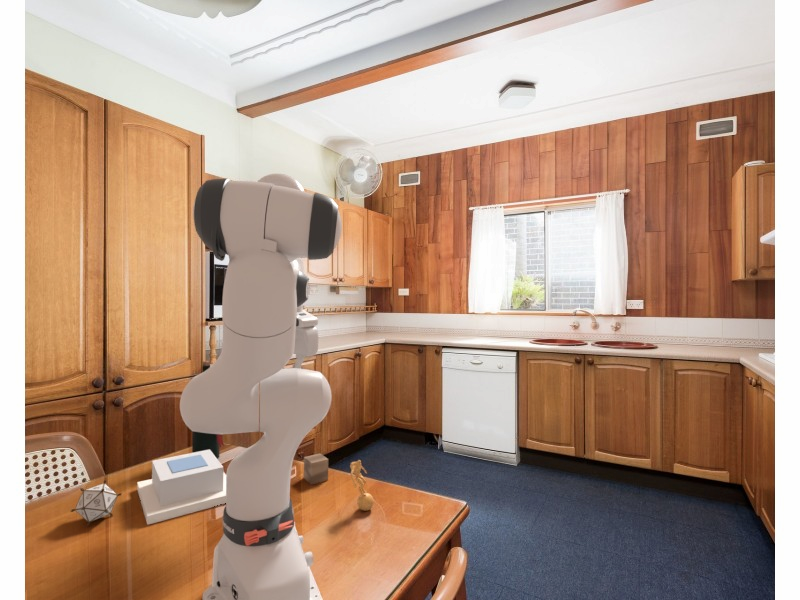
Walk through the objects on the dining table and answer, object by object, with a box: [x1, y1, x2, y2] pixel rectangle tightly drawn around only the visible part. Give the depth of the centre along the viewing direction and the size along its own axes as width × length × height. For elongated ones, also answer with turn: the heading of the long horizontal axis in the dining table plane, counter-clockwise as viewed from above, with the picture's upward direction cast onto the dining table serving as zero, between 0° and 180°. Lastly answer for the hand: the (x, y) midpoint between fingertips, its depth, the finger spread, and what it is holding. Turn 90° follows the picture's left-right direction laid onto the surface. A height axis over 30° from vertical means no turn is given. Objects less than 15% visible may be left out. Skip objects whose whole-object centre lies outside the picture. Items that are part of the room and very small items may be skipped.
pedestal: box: [136, 449, 226, 526], centre depth 111 cm, size 20×20×8 cm
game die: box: [70, 479, 123, 527], centre depth 99 cm, size 9×8×10 cm
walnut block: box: [303, 452, 329, 486], centre depth 121 cm, size 5×5×6 cm
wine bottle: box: [191, 360, 224, 460], centre depth 133 cm, size 8×10×30 cm
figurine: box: [349, 459, 375, 512], centre depth 106 cm, size 8×6×12 cm
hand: (283, 367), depth 116 cm, fingers open, 8 cm apart
